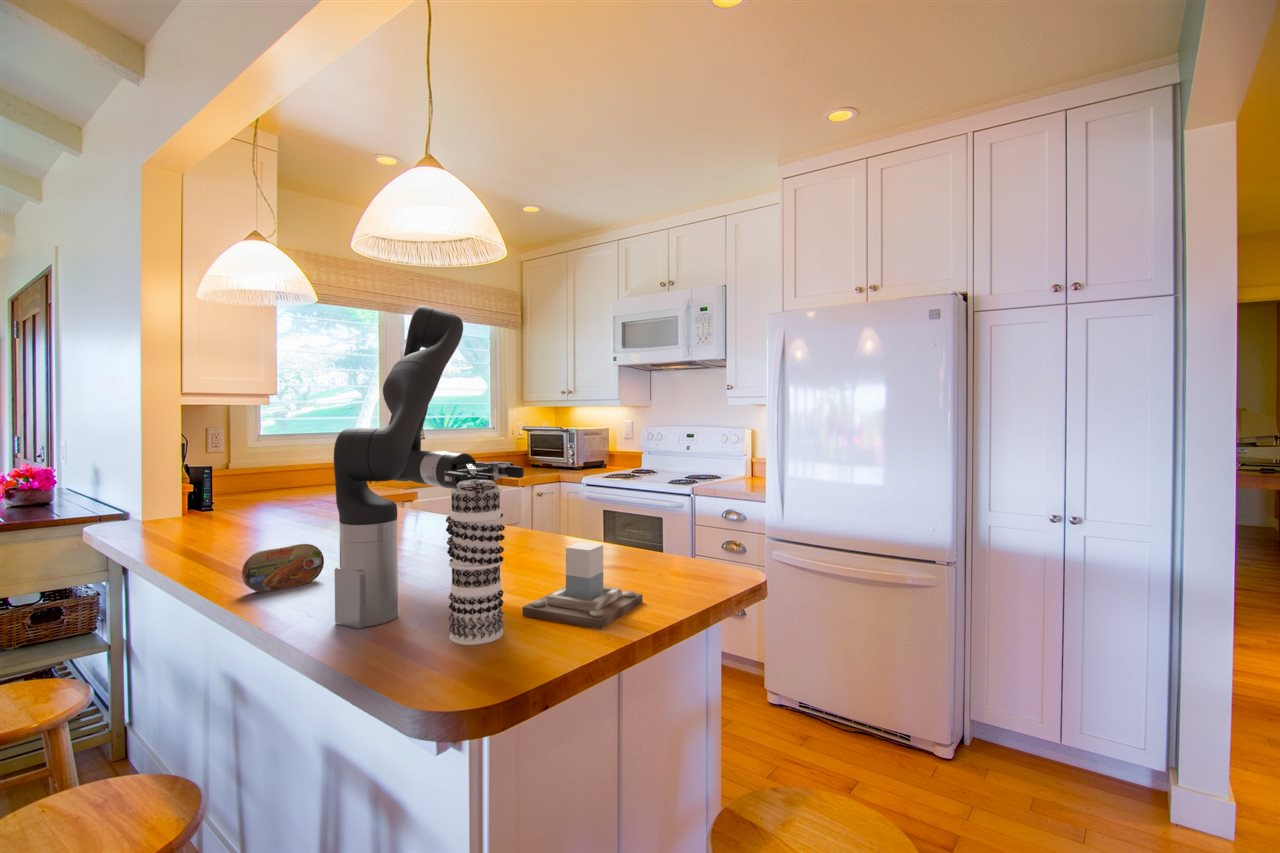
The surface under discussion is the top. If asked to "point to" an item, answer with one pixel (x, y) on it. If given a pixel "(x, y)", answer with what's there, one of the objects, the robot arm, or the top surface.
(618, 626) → the top surface
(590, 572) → the post
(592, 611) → the socket plate
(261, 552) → the tin
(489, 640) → the decorative candle
